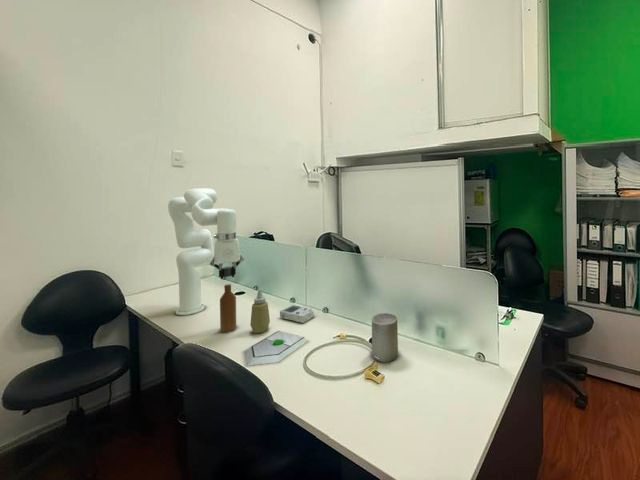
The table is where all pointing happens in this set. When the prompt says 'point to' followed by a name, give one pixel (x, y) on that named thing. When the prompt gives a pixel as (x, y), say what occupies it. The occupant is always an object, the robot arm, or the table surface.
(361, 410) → the table surface
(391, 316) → the pillar candle
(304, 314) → the handheld gaming device
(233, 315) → the bottle
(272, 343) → the security device
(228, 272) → the cap
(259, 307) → the squeeze bottle
